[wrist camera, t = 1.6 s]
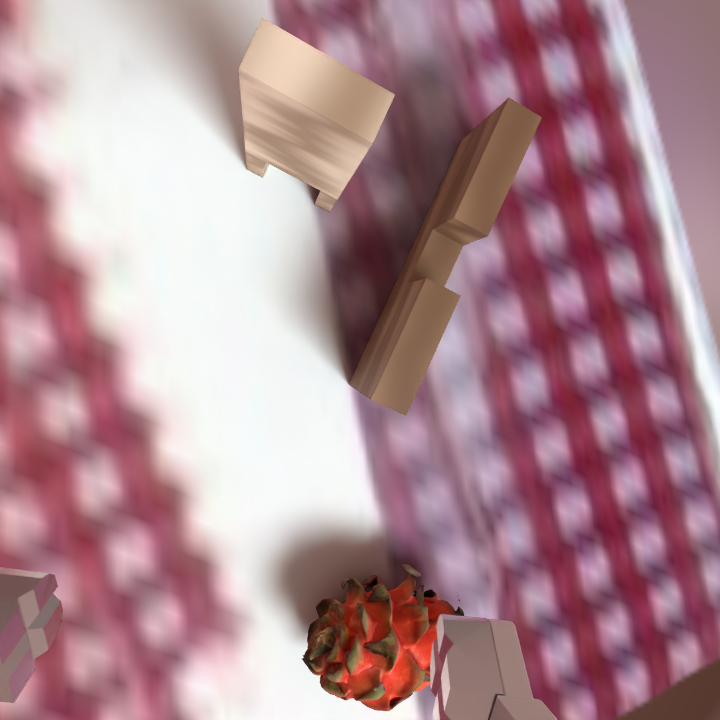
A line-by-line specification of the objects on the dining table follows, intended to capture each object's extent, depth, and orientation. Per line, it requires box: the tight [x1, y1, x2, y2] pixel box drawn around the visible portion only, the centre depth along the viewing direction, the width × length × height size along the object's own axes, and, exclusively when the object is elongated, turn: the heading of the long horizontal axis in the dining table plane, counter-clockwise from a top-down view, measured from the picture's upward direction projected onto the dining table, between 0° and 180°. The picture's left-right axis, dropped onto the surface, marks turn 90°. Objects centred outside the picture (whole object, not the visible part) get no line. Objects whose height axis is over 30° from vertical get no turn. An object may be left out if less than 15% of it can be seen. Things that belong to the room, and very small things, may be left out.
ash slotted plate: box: [239, 18, 395, 212], centre depth 30 cm, size 6×2×15 cm, turn 65°
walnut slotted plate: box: [349, 98, 542, 415], centre depth 36 cm, size 2×20×8 cm, turn 155°
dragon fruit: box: [302, 564, 464, 711], centre depth 38 cm, size 8×8×12 cm
